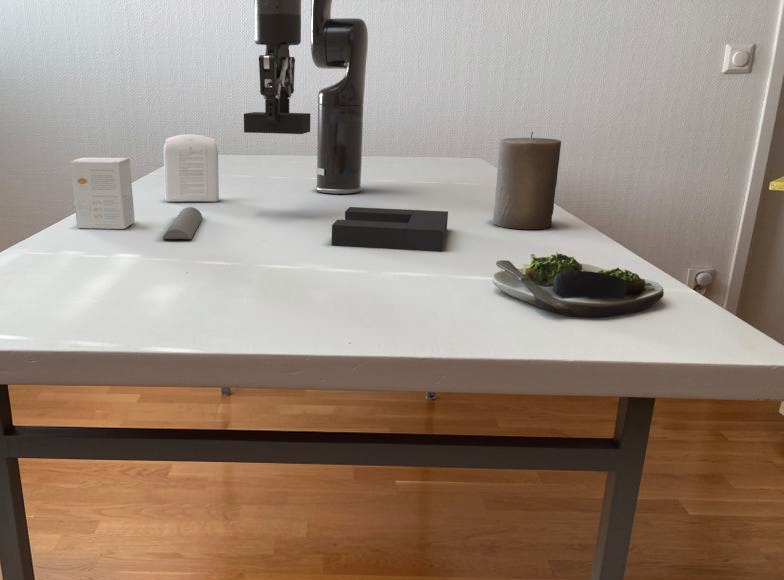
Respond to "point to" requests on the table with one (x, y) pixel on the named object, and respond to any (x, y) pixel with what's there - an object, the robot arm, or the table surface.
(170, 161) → the white arched block
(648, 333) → the table surface
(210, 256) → the table surface
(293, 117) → the pad piece
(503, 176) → the pillar candle
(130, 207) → the small box
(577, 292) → the salad plate
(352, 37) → the robot arm
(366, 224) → the slotted rectangular block
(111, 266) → the table surface
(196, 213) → the half round rod
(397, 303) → the table surface
